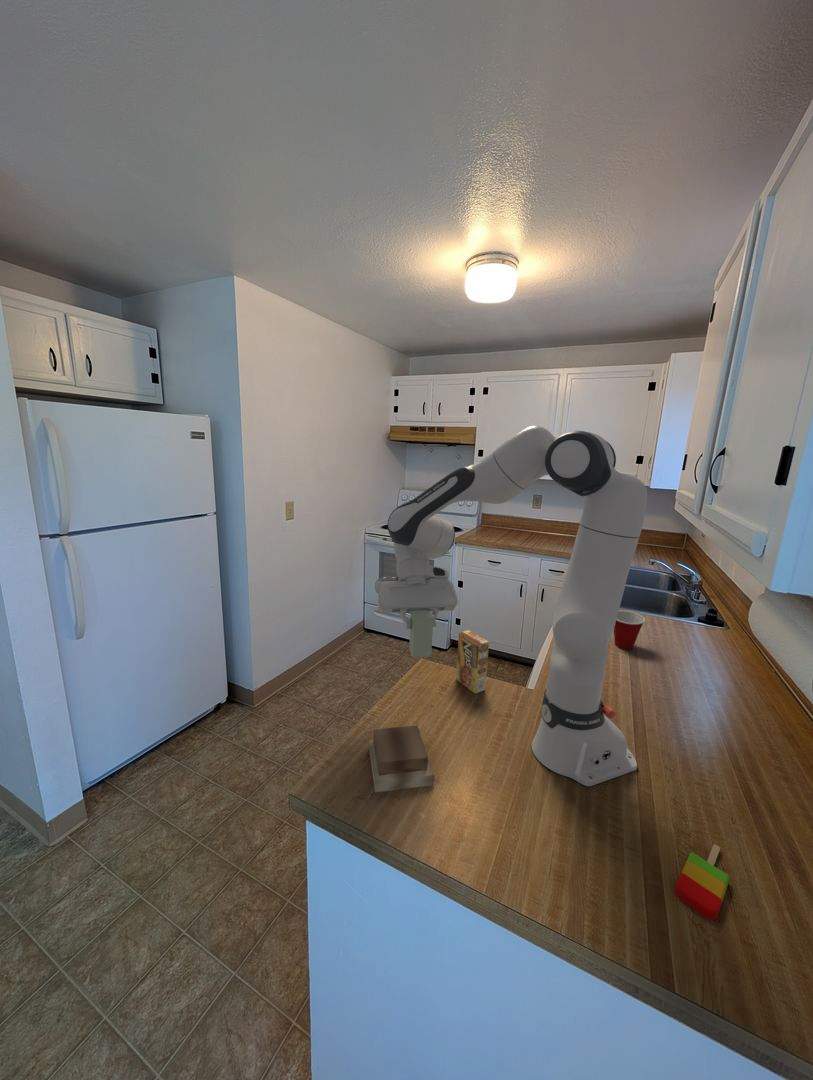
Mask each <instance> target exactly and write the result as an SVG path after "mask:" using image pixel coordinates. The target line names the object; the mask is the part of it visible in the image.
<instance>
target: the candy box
mask: <svg viewBox="0 0 813 1080" xmlns="http://www.w3.org/2000/svg"><path fill="white" fill-rule="evenodd" d="M457 642H458V643H457V655H456V656H457V658H456V674H455V680H457V681H458V682H459V683H460V684H462V685H463V686H464V687H466V688H467V689H468V690H469V691H471V692H472V693H473V694H475V695H476V694H479V693H481V692H483V691H485V690H486V686H487V685H486V684H487V673H488V660H489V659H488V658H489V647H490V641H489V640H487V639H485V638H483V637H482V636H480V635H478V634H477V633H475V632H473V631H471V630H469V629H467V630H464V631H461V632H458V640H457ZM472 674H473V675H472Z"/></svg>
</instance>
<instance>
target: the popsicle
mask: <svg viewBox="0 0 813 1080" xmlns="http://www.w3.org/2000/svg"><path fill="white" fill-rule="evenodd" d="M720 851H721V847H720V846H719V845H717V844H715V843H714V844H712V847H711V850H710V853H709V855H708V857H707V859H706V860H705V859H703V857H701V856H699V855H697V854H695V853H694V852H692V851H690V853H689V854H688V855H689V856H688V857H687V859H686V862H685V864H684V866H683V868H682V870H681V873H680V875H679V878H678V879H677V882H676V883H675V889H674V890H675V894H676V896H677V897H678V898H679V899H680V901H682V902H684V903H685V904H687V905H688V906H689V907H690V908H692V909H693V910H694V911H695V912H697V913H699V914H701V915H702V916H703V917H704V918H706V919H708V920H709V921H710V920H711V921H714V920H717V918H718V916H719V914H720V911H721V907H722V904H723V902H724V898H725V896H726V895H725V894H726V892H727V889H728V885H729V882H730V875H729V874H727V873H726V872H724V871H723V870H721V869H719V868H718V867H716V866H715V864H716V861H717V858H718V856H719V853H720Z"/></svg>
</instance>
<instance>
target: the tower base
mask: <svg viewBox="0 0 813 1080" xmlns="http://www.w3.org/2000/svg"><path fill="white" fill-rule="evenodd" d="M421 738H422V736H421ZM422 741H423V744H424V747H425V743H424V740H423V738H422ZM425 750H426V747H425ZM368 753H369V761H370V767H371V774H372V779H373V780H372V781H373V786H374V793H382V792H389V791H397V790H398V791H399V790H405V789H413V788H421V787H428V786H429V787H430V786H435V785H434V783H435V773H434V770H433V767H432V764H431V761H430V758H429V756H428V753H427V750H426V753H427V756H428V765H427V770H421V771H413V772H404V773H396V774H387V775H379V772H378V766H377V760H376V754H375V748H374V742H373V739H371V740H370V739H369V740H368Z"/></svg>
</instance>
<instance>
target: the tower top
mask: <svg viewBox="0 0 813 1080" xmlns="http://www.w3.org/2000/svg"><path fill="white" fill-rule="evenodd" d="M421 737H422V735H421V733H420V728H419V726H418V725H407V726H406V725H405V726H397V727H385V728H375V729H373V738H372V740H373V742H374V748H375V754H376V760H377V766H378V772H379V775H387V774H396V773H404V772H413V771H421V770H427V765H428V758H429V756H427V755H428V753H426V752H427V750H425V749H426V747H424V746H425V743H424V740H423V738H421ZM422 740H423V741H422ZM423 743H424V744H423Z"/></svg>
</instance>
